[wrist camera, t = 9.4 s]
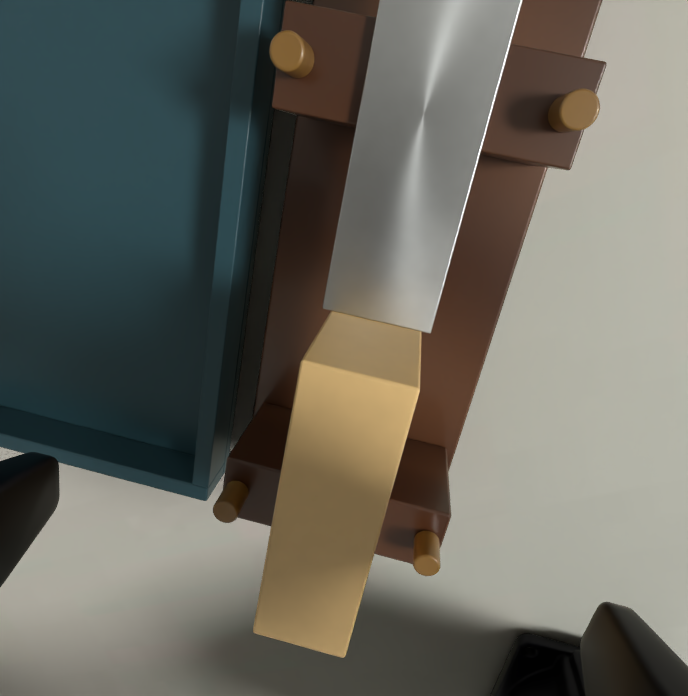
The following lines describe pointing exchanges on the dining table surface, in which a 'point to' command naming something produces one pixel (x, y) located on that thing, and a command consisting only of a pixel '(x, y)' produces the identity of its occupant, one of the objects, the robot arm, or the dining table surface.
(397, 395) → the knife
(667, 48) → the dining table surface
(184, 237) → the cutlery tray
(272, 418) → the knife rack
